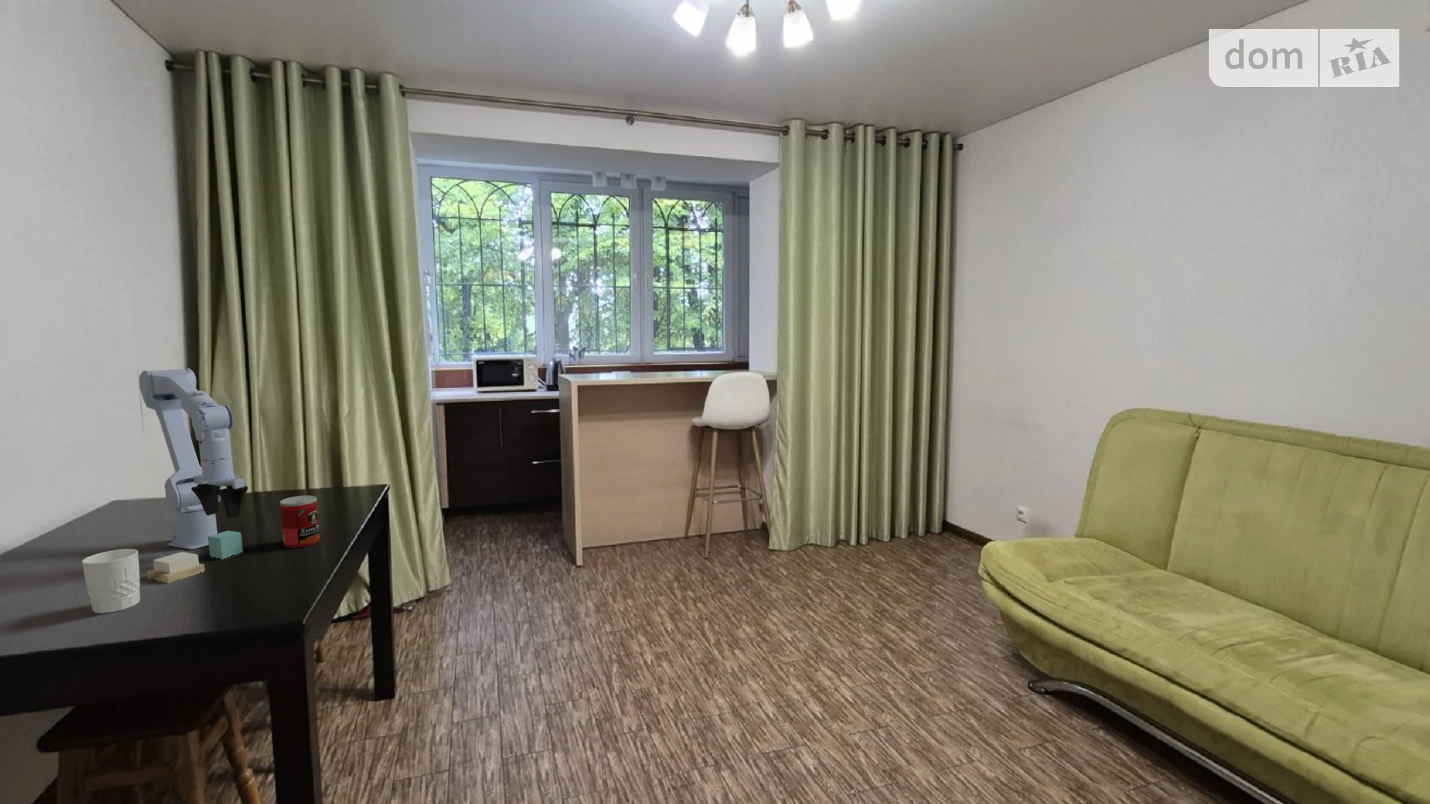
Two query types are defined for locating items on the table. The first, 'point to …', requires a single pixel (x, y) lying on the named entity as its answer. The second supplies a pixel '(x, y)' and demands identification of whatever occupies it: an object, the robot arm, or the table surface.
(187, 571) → the oak slab
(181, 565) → the cream slab
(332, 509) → the table surface
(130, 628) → the table surface
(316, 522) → the canned food
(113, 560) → the white cup
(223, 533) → the teal block
